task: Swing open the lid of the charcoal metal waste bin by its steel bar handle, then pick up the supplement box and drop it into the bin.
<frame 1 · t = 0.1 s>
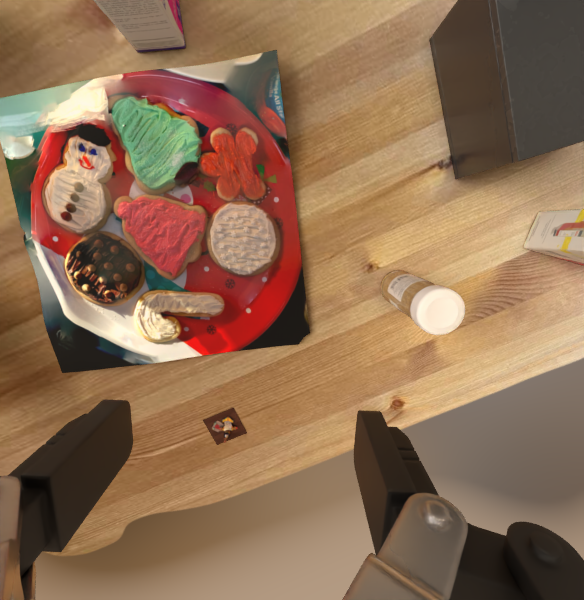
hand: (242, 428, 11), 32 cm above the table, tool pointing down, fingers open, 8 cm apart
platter: (161, 230, 42), on the table
supplement box: (159, 23, 37), on the table
ink box: (559, 238, 41), on the table
sprinkles bottle: (396, 285, 43), on the table
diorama: (225, 425, 48), on the table
bin: (496, 94, 38), on the table
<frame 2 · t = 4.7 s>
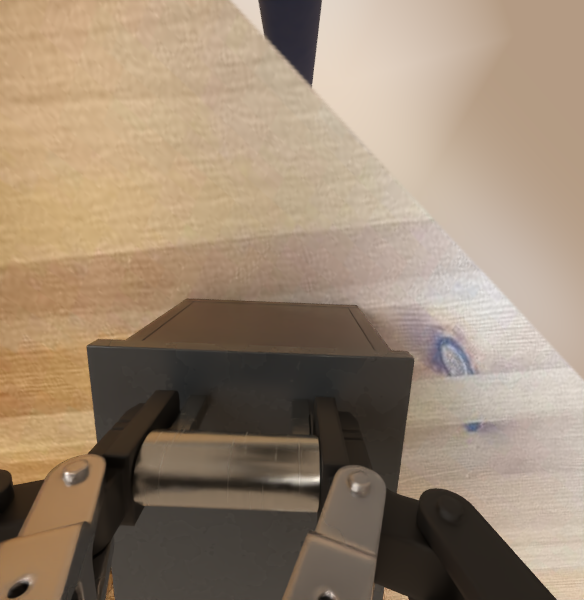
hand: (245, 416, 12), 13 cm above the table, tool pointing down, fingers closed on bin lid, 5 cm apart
bin lid: (241, 571, 12), point 13 cm above the table, hinge at 0.0°, touching gripper
bin: (269, 397, 26), on the table
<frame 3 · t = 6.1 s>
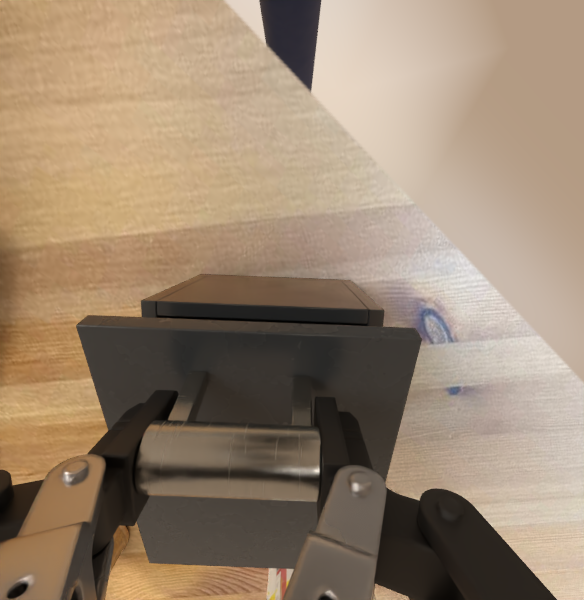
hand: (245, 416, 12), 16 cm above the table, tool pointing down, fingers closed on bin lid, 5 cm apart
ink box: (318, 538, 33), on the table
bin lid: (247, 519, 14), point 16 cm above the table, hinge at 15.0°, touching gripper
sprinkles bottle: (109, 529, 33), on the table
bin: (272, 363, 29), on the table
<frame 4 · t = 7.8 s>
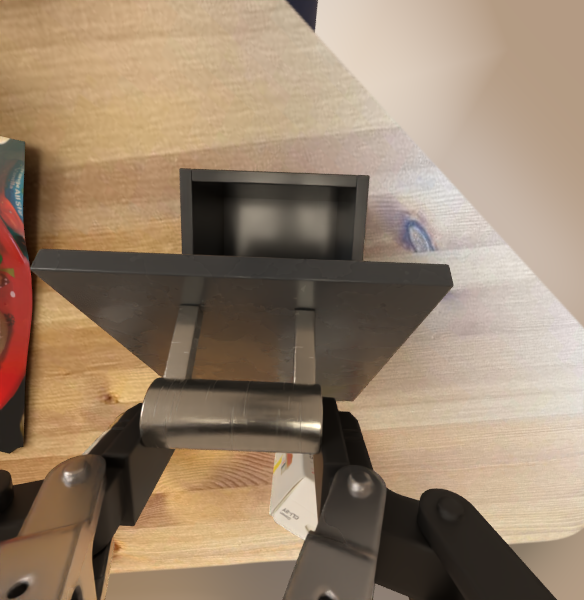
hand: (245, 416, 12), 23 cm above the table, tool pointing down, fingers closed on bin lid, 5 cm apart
ink box: (318, 433, 38), on the table
bin lid: (257, 400, 16), point 19 cm above the table, hinge at 49.6°, touching gripper
bin: (279, 270, 34), on the table
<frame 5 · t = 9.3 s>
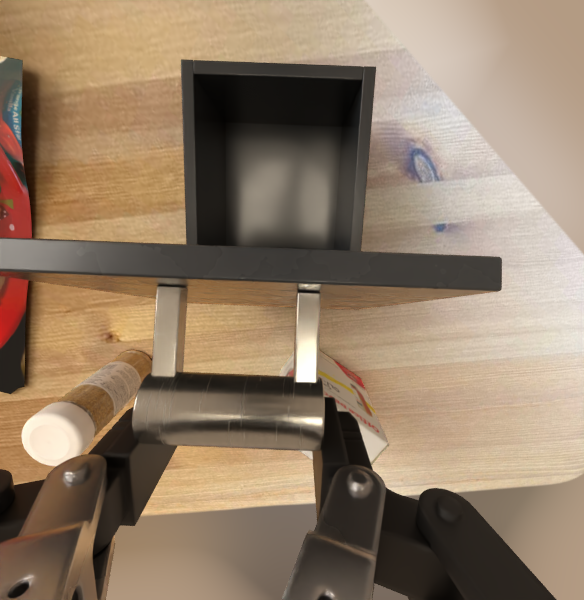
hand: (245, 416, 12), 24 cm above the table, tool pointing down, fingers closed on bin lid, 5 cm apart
ink box: (320, 373, 37), on the table
bin lid: (258, 338, 15), point 20 cm above the table, hinge at 74.4°, touching gripper
sprinkles bottle: (137, 366, 37), on the table
bin: (281, 202, 33), on the table
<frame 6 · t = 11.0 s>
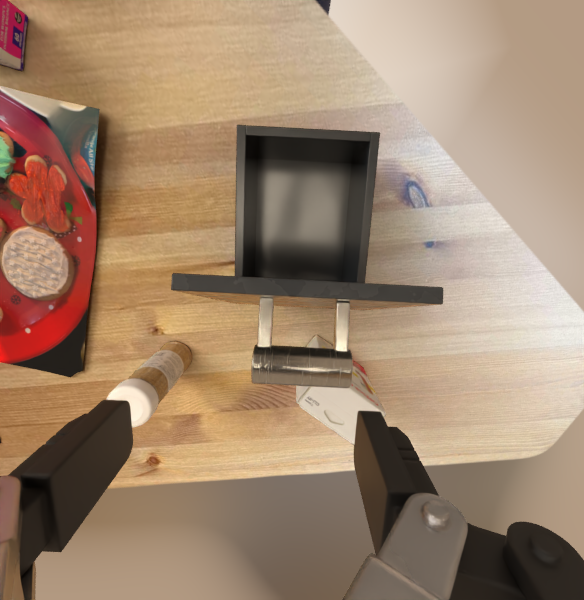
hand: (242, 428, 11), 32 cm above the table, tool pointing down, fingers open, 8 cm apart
supplement box: (4, 38, 37), on the table
ink box: (330, 363, 45), on the table
bin lid: (299, 329, 23), point 20 cm above the table, hinge at 74.9°
sprinkles bottle: (177, 355, 45), on the table
bin: (301, 222, 41), on the table
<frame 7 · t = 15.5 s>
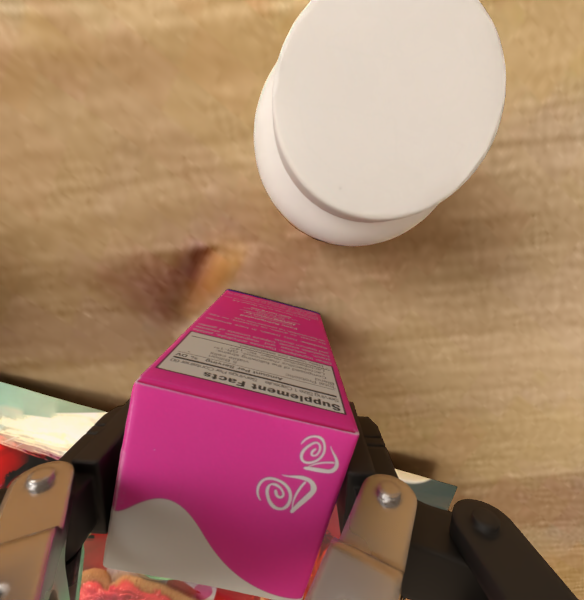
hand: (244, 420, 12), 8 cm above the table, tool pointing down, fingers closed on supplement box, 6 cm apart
supplement box: (264, 343, 19), on the table, touching gripper
pill bottle: (329, 178, 17), on the table
when the fingers open (17 cm above the table, at t = 24.7 s): supplement box drops 8 cm, resting on bin.
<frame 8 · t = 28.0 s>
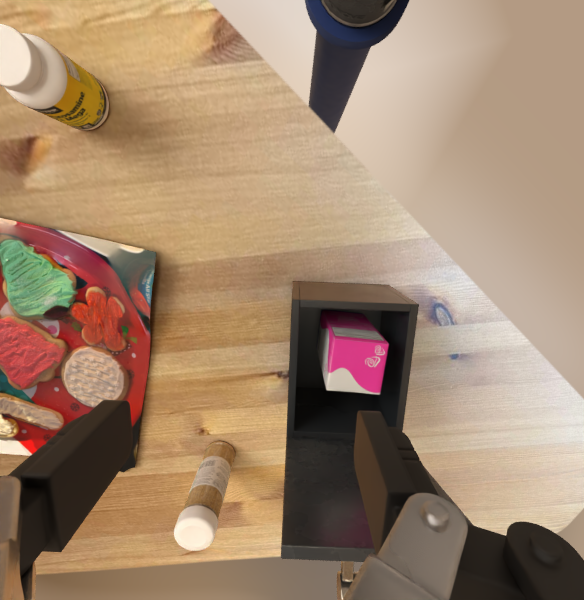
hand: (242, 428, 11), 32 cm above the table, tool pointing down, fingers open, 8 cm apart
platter: (24, 345, 45), on the table
supplement box: (340, 330, 43), point 1 cm above the table, touching bin
bin lid: (359, 509, 27), point 20 cm above the table, hinge at 74.9°
pill bottle: (86, 103, 38), on the table
sprinkles bottle: (221, 451, 49), on the table
bin: (336, 338, 44), on the table
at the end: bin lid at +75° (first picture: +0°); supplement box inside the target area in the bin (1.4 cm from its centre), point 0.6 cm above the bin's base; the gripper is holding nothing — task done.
